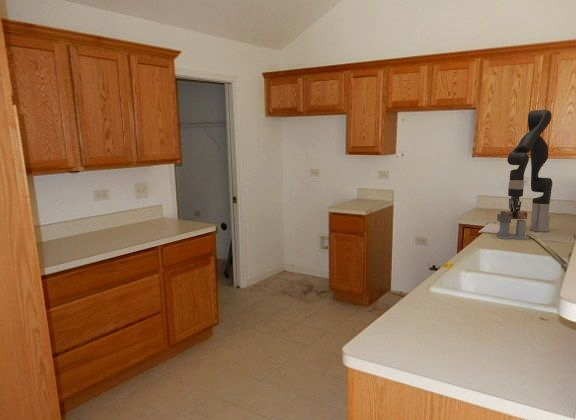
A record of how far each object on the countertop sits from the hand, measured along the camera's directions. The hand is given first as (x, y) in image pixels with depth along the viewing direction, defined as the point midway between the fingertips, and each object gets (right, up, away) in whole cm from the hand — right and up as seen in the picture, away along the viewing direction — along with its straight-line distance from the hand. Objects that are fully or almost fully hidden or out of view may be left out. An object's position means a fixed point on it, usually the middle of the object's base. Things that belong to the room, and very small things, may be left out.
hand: (513, 217), depth 237 cm
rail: (0, -1, 0) cm, 1 cm away
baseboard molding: (0, -9, +27) cm, 28 cm away
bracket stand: (0, -12, +2) cm, 12 cm away
